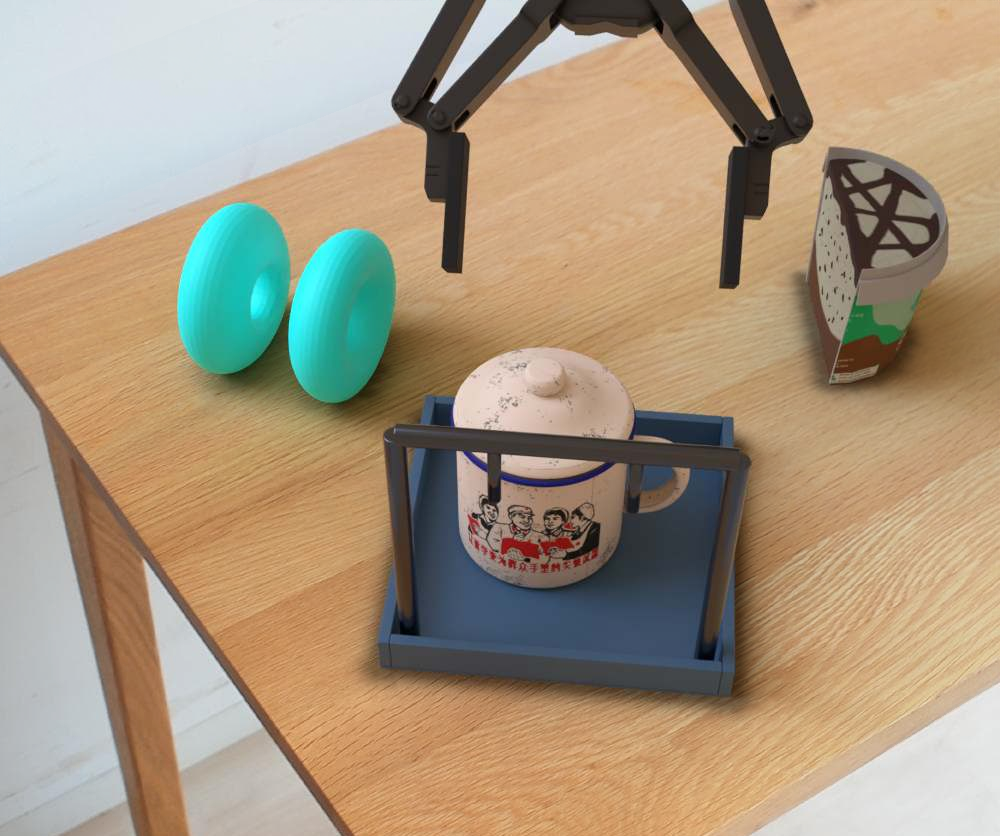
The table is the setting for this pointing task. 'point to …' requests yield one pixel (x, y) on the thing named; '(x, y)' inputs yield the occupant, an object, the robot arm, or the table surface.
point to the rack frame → (572, 449)
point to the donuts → (263, 297)
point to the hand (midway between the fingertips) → (589, 279)
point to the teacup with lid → (548, 468)
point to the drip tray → (571, 586)
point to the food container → (871, 258)
